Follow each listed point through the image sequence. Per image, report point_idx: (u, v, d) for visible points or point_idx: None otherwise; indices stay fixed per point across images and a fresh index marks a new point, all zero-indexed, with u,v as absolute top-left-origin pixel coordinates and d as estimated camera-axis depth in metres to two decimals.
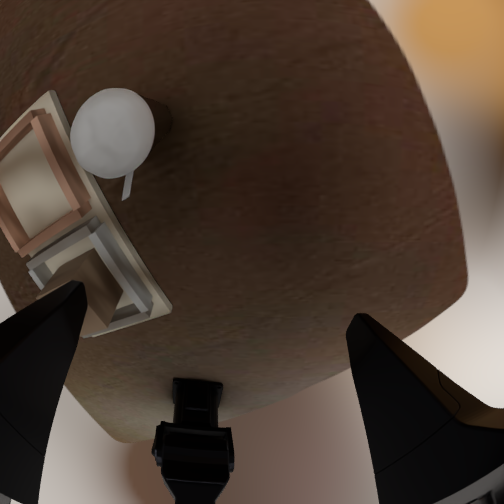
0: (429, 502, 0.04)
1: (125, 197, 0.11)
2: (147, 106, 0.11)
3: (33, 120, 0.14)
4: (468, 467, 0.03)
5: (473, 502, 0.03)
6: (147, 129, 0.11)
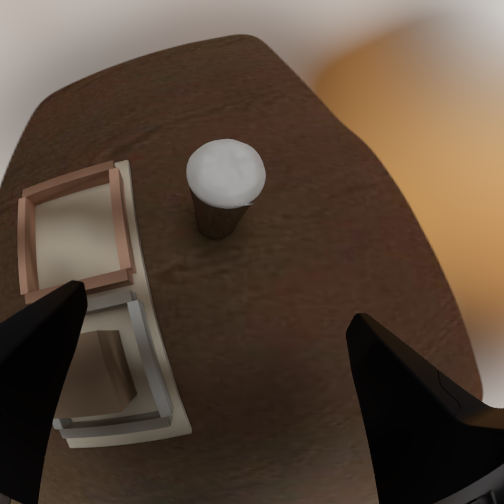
0: (429, 502, 0.04)
1: (248, 204, 0.13)
2: (262, 162, 0.16)
3: (112, 169, 0.20)
4: (468, 467, 0.03)
5: (473, 502, 0.03)
6: (263, 174, 0.16)
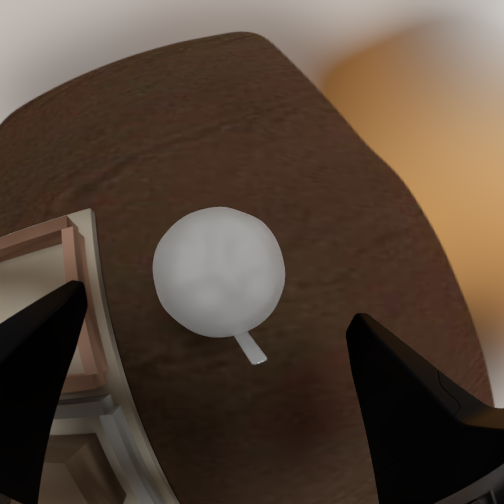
0: (429, 502, 0.04)
1: (259, 360, 0.07)
2: (279, 248, 0.10)
3: (66, 230, 0.14)
4: (468, 467, 0.03)
5: (473, 502, 0.03)
6: (281, 276, 0.10)
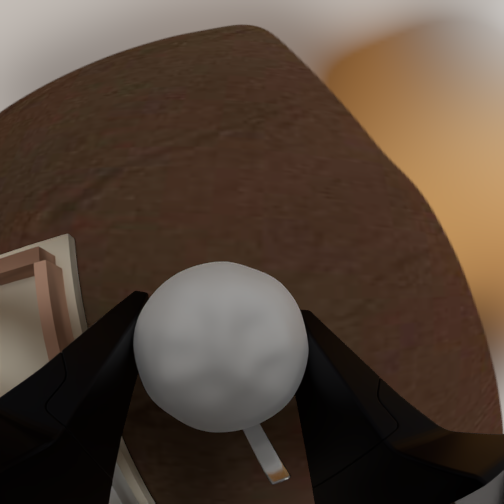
0: None
1: (279, 478, 0.04)
2: None
3: (38, 264, 0.11)
4: (399, 502, 0.03)
5: None
6: (305, 357, 0.07)
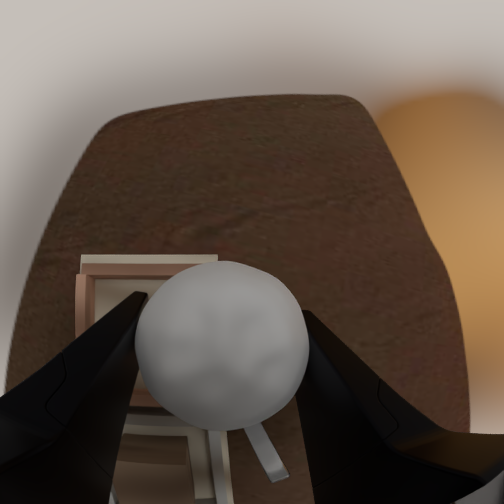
0: None
1: (279, 476, 0.05)
2: (302, 315, 0.08)
3: None
4: (400, 502, 0.03)
5: None
6: (305, 356, 0.07)
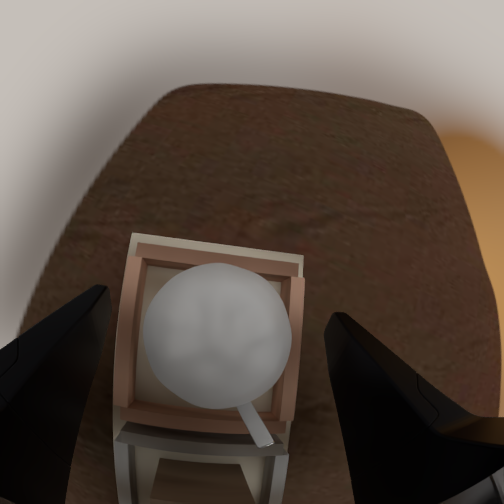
0: None
1: (266, 443, 0.06)
2: (284, 308, 0.09)
3: (296, 279, 0.16)
4: (445, 481, 0.03)
5: None
6: (288, 342, 0.08)
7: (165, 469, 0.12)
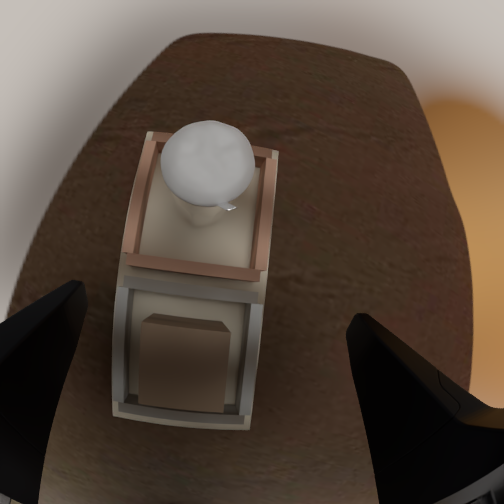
0: (429, 502, 0.04)
1: (231, 208, 0.11)
2: (251, 148, 0.13)
3: (270, 160, 0.20)
4: (468, 467, 0.03)
5: (473, 502, 0.03)
6: (251, 165, 0.13)
7: (157, 316, 0.18)
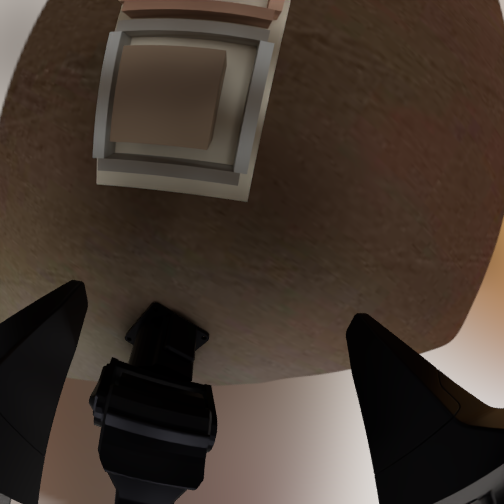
0: (429, 502, 0.04)
1: None
2: None
3: None
4: (468, 467, 0.03)
5: (473, 502, 0.03)
6: None
7: None
